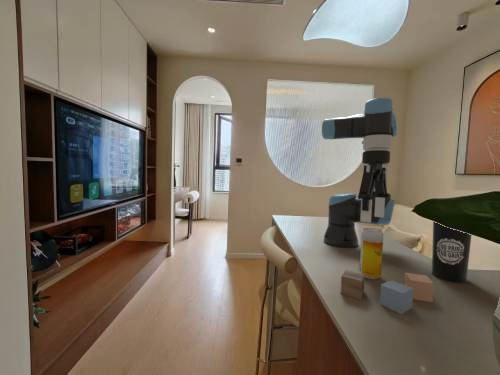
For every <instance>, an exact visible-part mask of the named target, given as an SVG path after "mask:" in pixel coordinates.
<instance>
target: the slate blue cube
mask: <svg viewBox="0 0 500 375" xmlns="http://www.w3.org/2000/svg"><path fill="white" fill-rule="evenodd" d="M379 296H380V298H379V305H381V306H384V307H385V308H388V309H390V310H392V311H394V312H396V313H398V314H400V315H402V314H404V313H406V312H408V311H410V310H412V309H413V300H414V299H413V288H411V287H408V286H406V285H404V284H402V283H400V282H397V281H395V280H392V279H391V280H389V281H386V282H384V283H381V284H380V295H379Z"/></svg>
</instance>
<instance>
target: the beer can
mask: <svg viewBox="0 0 500 375" xmlns="http://www.w3.org/2000/svg"><path fill="white" fill-rule="evenodd" d="M360 236H361V237H360V256H359V259H360V260H359V261H360V262H359V273H362V274H365V279H368V280H373V281H374V280H379V279H380V278H381V277H382V268H383V265H382V264H383V250H384V248H383V247H384V246H383V245H384V233H383V230H382V229H380V228H376V227H363V228H362V230H361V234H360Z"/></svg>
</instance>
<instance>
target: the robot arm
mask: <svg viewBox="0 0 500 375" xmlns="http://www.w3.org/2000/svg"><path fill="white" fill-rule="evenodd" d="M393 111H394V108H393V100H392V99H391V98H390V97H375V98H372V99H369V100H367V101H366V102H365V104H364V111H363V113H360V114H355V115H354V114H353V115H350V116H346V117H344V116H343V117H334V118H331V117H330V118H325V119H323V121H322V123H321V136H322V138H323V139H324V140H341V139H363V140H362V141H361V144H362V149H363V152H362V155H361V156H362V157H361V158H362V159H361V160H362V161H361V162H362V164H364V165H363V174H362V178H361V182H360V185H359V190H358V195H357V194H356V193H354V192H353V193H340V194H333V195H330V196H329V199H328V200H329V201H328V218H327V219H328V221H327V226H326V227H327V228H326V230H325V232H324V235H323V242H324V243H325V242H326V243H325V244H327V243H328V245H330V246H332V247H333V246H334V247H340V248H355V247H357V246H358V245H359V238H358V234H357V231H356V226H355V225H356V223H359V224H368V225H369V224H370V225H377V226H379V225H381V226H387V225H389V224H390V223H391V221H392V217H393V212H394V207H395V201H396V200H395V198H392V196H391V195H392V194H391V193H390V192H389V191H388V172H389V163H390V160H391V152H390V149H391V148H392V146H391V145H392V140H394V137H396V135H397V130H398V128H397V118H396V114H395V113H394V112H393Z"/></svg>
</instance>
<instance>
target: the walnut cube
mask: <svg viewBox="0 0 500 375" xmlns="http://www.w3.org/2000/svg"><path fill="white" fill-rule="evenodd" d="M340 279H341V280H340V281H341V283H340V294H341V295H344V296H347V297H350V298H354V299H358V300H362V298H363V295H364V293H365V281H366V280H365V279H366V278H365V274H362V273H360V272H356V271H352V270H348V269H345V270H344V272H343V273H342V274H341V278H340Z"/></svg>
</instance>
